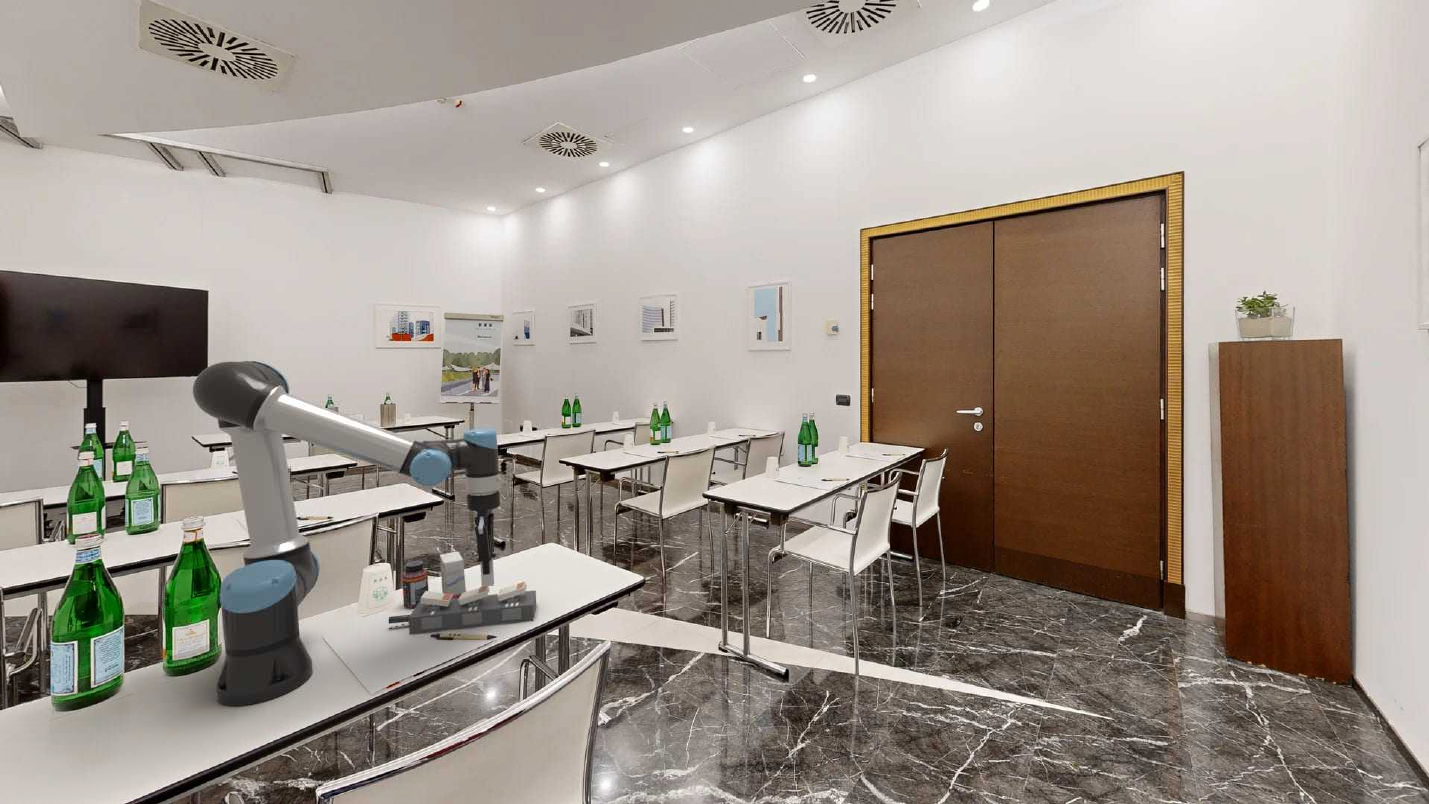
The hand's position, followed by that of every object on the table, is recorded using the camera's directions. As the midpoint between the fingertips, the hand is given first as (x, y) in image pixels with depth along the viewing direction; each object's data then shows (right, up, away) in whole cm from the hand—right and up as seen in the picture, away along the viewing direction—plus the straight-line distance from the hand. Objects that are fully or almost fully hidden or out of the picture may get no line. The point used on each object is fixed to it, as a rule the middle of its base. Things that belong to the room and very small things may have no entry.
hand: (487, 585), depth 142 cm
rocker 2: (-3, -3, 0) cm, 4 cm away
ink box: (-14, -8, +12) cm, 20 cm away
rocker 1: (-12, -3, -2) cm, 12 cm away
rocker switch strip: (-6, -9, -1) cm, 10 cm away
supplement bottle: (-22, -8, +9) cm, 25 cm away
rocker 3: (+6, -3, +2) cm, 7 cm away
